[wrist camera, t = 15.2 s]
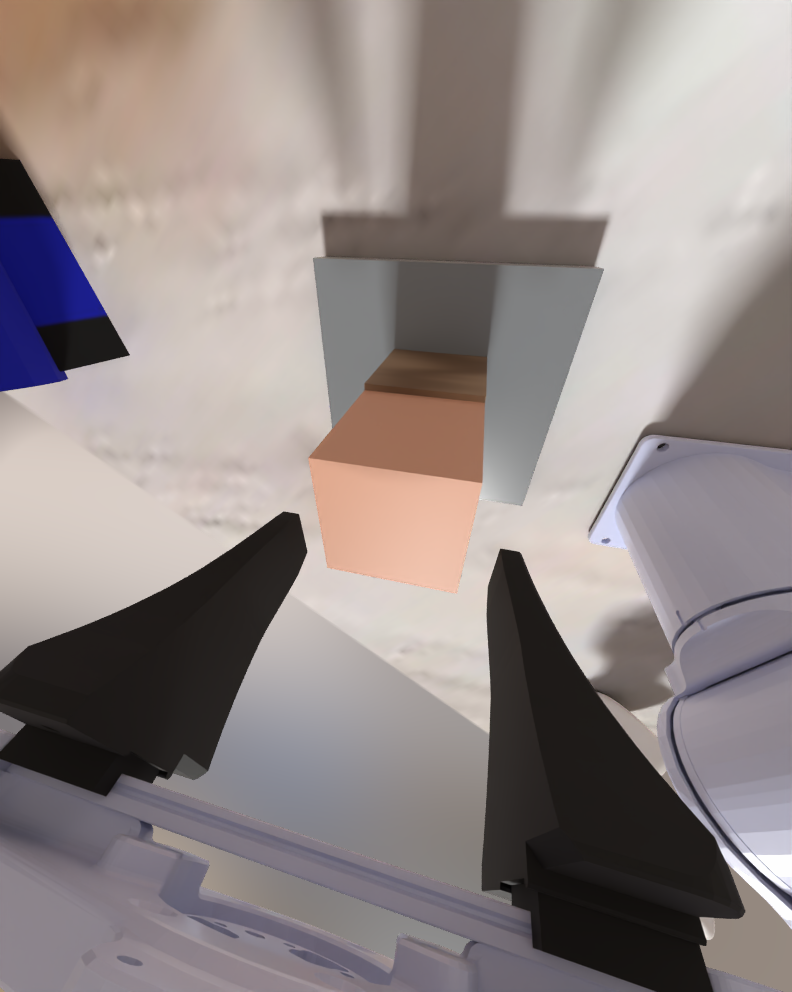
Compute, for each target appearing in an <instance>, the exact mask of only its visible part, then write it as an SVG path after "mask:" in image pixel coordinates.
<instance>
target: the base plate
mask: <svg viewBox="0 0 792 992" xmlns="http://www.w3.org/2000/svg"><path fill="white" fill-rule="evenodd" d="M313 262H314V271H315V280H316V288H317V297H318V306H319V315H320V324H321V332H322V341H323V350H324V359H325V368H326V376H327V385H328V394H329V403H330V412H331V420H332V429H333V428H334V426H335V425H336V424H337V423H338V422H339V420H340V419H341V418H342V417H343V416H344V414H345V413H346V412H347V411H348V409H349V408H350V407H351V406H352V405H353V403H354V402H355V401H356V400H357V399H358V397H359V396H360V395H361V394H362V393H363V391H364V390H365V388H364V383H365V382H366V381H367V380H368V379H369V378H370V376H371V375H372V374H373V373H374V372H375V371H376V369H377V368H378V367H379V366H380V365H381V364H382V363H383V361H384V360H385V359H386V358H387V357H388V356H389V354H390V353H391V352H392V351H393V350H394V349H401V350H412V351H424V352H435V353H447V354H458V355H470V356H482V357H487V387H486V400H485V416H484V449H483V482H482V487H481V492H480V496H479V499H480V500H486V501H493V502H499V503H506V504H513V505H519V506H522V505H523V502H524V499H525V496H526V493H527V490H528V488H529V485H530V482H531V479H532V476H533V473H534V470H535V467H536V464H537V461H538V459H539V456H540V453H541V450H542V447H543V444H544V441H545V438H546V435H547V433H548V430H549V427H550V424H551V421H552V418H553V415H554V412H555V409H556V407H557V404H558V401H559V398H560V395H561V392H562V389H563V386H564V383H565V381H566V378H567V375H568V372H569V369H570V366H571V363H572V360H573V357H574V354H575V352H576V349H577V346H578V343H579V340H580V337H581V334H582V331H583V328H584V326H585V323H586V320H587V317H588V314H589V311H590V308H591V305H592V302H593V300H594V297H595V294H596V291H597V288H598V285H599V282H600V279H601V276H602V274H603V271H604V269H603V268H599V267H595V266H571V265H544V264H516V263H489V262H462V261H434V260H407V259H380V258H352V257H317V258H313Z"/></svg>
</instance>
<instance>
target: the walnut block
mask: <svg viewBox="0 0 792 992" xmlns="http://www.w3.org/2000/svg"><path fill="white" fill-rule="evenodd" d="M486 387H487V357H482V356H470V355H458V354H447V353H435V352H424V351H412V350H401V349H394V350H393V351H392V352H391V353H390V354H389V356H388V357H387V358H386V359H385V360H384V361H383V363H382V364H381V365H380V366H379V367H378V368H377V369H376V371H375V372H374V373H373V374H372V375H371V376H370V378H369V379H368V380H367V381H366V382H365V383H364V388H365V390H368V391H378V392H387V393H397V394H406V395H416V396H425V397H434V398H444V399H453V400H463V401H472V402H482V403H485V400H486Z"/></svg>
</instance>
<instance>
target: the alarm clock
mask: <svg viewBox="0 0 792 992" xmlns="http://www.w3.org/2000/svg"><path fill="white" fill-rule="evenodd" d="M129 355H130V354H129V353H128V351H127V349H126V347H125V346H124V344H123V342H122V340H121V339H120V337H119V335H118V333H117V331H116V330H115V328H114V326H113V324H112V323H111V321H110V319H109V317H108V316H107V314H106V312H105V310H104V308H103V307H102V305H101V303H100V301H99V300H98V298H97V296H96V294H95V293H94V291H93V289H92V287H91V285H90V284H89V282H88V280H87V278H86V277H85V275H84V273H83V271H82V269H81V268H80V266H79V264H78V262H77V261H76V259H75V257H74V255H73V254H72V252H71V250H70V248H69V246H68V245H67V243H66V241H65V239H64V238H63V236H62V234H61V232H60V231H59V229H58V227H57V225H56V223H55V222H54V220H53V218H52V216H51V215H50V213H49V211H48V209H47V208H46V206H45V204H44V202H43V200H42V199H41V197H40V195H39V193H38V192H37V190H36V188H35V186H34V185H33V183H32V181H31V179H30V177H29V176H28V174H27V172H26V170H25V169H24V167H23V165H22V163H21V162H20V160H11V159H0V392H1V391H8V390H14V389H21V388H27V387H34V386H39V385H45V384H50V383H55V382H60V381H63V380H66V379H68V378H67V376H66V374H65V372H64V371H66V370H70V369H74V368H78V367H82V366H87V365H91V364H95V363H99V362H103V361H108V360H112V359H116V358H120V357H125V356H129Z"/></svg>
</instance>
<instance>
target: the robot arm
mask: <svg viewBox="0 0 792 992" xmlns="http://www.w3.org/2000/svg"><path fill="white" fill-rule="evenodd" d="M662 443H666V444H665V446H664V447H662V448H657V447H658V446H659V445H660V444H662ZM603 538H607V539H603ZM588 539H589V541H590V542H591V543H593V544H597V545H603V546H609V547H615V548H621V549H627V550H628V552H629V554H630V557H631V559H632V561H633V563H634V566H635V568H636V570H637V572H638V575H639V577H640V579H641V581H642V584H643V586H644V588H645V590H646V593H647V595H648V597H649V599H650V602H651V604H652V606H653V609H654V611H655V613H656V615H657V618H658V620H659V622H660V624H661V627H662V629H663V631H664V633H665V636H666V638H667V640H668V642H669V645H670V647H671V649H672V651H673V653H674V661H673V662H672V663H671V664H670V665H669V666H667V667H666V668H665V669H664V670H665V672H666V675H667V677H668V680H669V682H670V685H671V687H672V690H673V692H674V695H675V696H673V697H671V698H670V699H668V700H667V701H666V702H665V703H664V705H663V706H662V707H661V709H660V712H659V715H658V721H657V736H658V742H659V747H660V752H661V755H662V758H663V761H664V764H665V767H666V770H667V772H668V774H669V777H670V779H671V781H672V783H673V785H674V788H675V790H676V791H677V793H678V795H679V796H678V795H677V794H676V793H675V792H674V791H673V789H672V788H671V787H670V786H669V785H668V783H667V782H666V781H665V780H664V779H663V778H662V776H661V775H660V774H659V773H658V771H657V770H656V769H655V768H654V767H653V765H652V764H651V763H650V762H649V760H648V759H647V758H646V757H645V756H644V754H643V753H642V752H641V751H640V750H639V748H638V747H637V746H636V744H635V743H634V742H633V741H632V739H631V738H630V737H629V735H628V734H627V733H626V731H625V730H624V729H623V727H622V726H621V725H620V723H619V722H618V721H617V720H616V718H615V717H614V716H613V714H612V713H611V712H610V710H609V709H608V708H607V706H606V705H605V704H604V702H603V701H602V699H601V698H600V697H599V695H598V694H597V692H596V691H595V689H594V688H593V687H592V685H591V684H590V682H589V681H588V679H587V678H586V676H585V675H584V673H583V672H582V670H581V669H580V667H579V666H578V664H577V663H576V661H575V659H574V658H573V656H572V655H571V653H570V651H569V650H568V648H567V646H566V645H565V643H564V641H563V639H562V638H561V636H560V634H559V632H558V631H557V629H556V627H555V625H554V623H553V622H552V620H551V618H550V616H549V614H548V612H547V610H546V608H545V606H544V604H543V602H542V600H541V598H540V596H539V594H538V592H537V590H536V588H535V585H534V583H533V581H532V579H531V576H530V574H529V572H528V569H527V567H526V565H525V562H524V559H523V557H522V555H521V553H520V552H517V551H511V550H505V549H500V551H499V554H498V557H497V560H496V563H495V566H494V570H493V573H492V576H491V579H490V582H489V585H488V596H487V633H488V649H489V666H490V684H491V706H490V738H489V760H488V780H487V798H486V815H485V829H484V844H483V858H482V891H483V892H486V893H489V894H492V895H495V896H498V897H501V898H504V899H507V900H510V901H512V905H509V904H506V903H503V902H500V901H497V900H494V899H491V898H488V897H485V896H482V895H479V894H476V893H473V892H470V891H467V890H464V889H462V888H459V887H456V886H453V885H450V884H447V883H444V882H441V881H438V880H435V879H432V878H429V877H426V876H423V875H420V874H417V873H414V872H411V871H408V870H405V869H402V868H399V867H396V866H393V865H390V864H388V863H384V862H382V861H379V860H376V859H373V858H370V857H366V856H364V855H361V854H358V853H355V852H352V851H349V850H346V849H343V848H340V847H337V846H334V845H331V844H328V843H325V842H323V841H320V840H316V839H314V838H311V837H308V836H304V835H302V834H299V833H295V832H293V831H290V830H287V829H284V828H281V827H278V826H275V825H272V824H269V823H266V822H263V821H260V820H257V819H255V818H251V817H249V816H245V815H243V814H240V813H237V812H234V811H231V810H228V809H225V808H222V807H219V806H216V805H213V804H210V803H207V802H204V801H201V800H198V799H195V798H192V797H189V796H186V795H184V794H181V793H178V792H175V791H172V790H169V789H166V788H162V787H160V786H157V785H154V784H152V783H153V781H154V780H155V778H156V776H158V777H161V778H165V779H167V780H168V779H169V778H170V777H171V775H172V774H173V773H174V774H177V775H180V776H183V777H186V778H189V779H192V780H195V779H198V778H199V777H201V776H202V775H204V774H205V773H206V772H207V771H208V769H209V767H210V764H211V761H212V758H213V755H214V752H215V750H216V747H217V744H218V741H219V739H220V736H221V733H222V730H223V728H224V725H225V723H226V720H227V718H228V715H229V712H230V710H231V707H232V705H233V702H234V700H235V697H236V695H237V692H238V690H239V688H240V686H241V683H242V681H243V679H244V676H245V674H246V672H247V669H248V667H249V665H250V663H251V660H252V658H253V656H254V653H255V652H256V650H257V647H258V645H259V643H260V641H261V639H262V637H263V635H264V633H265V631H266V630H267V628H268V626H269V624H270V623H271V621H272V619H273V618H274V615H275V614H276V612H277V611H278V609H279V607H280V606H281V604H282V602H283V600H284V599H285V597H286V595H287V593H288V592H289V590H290V588H291V586H292V585H293V583H294V581H295V579H296V578H297V576H298V573H299V571H300V569H301V566H302V564H303V562H304V559H305V557H306V554H307V548H306V543H305V539H304V534H303V530H302V526H301V521H300V517H299V514H295V513H289V512H282V513H281V514H279V515H278V516H277V517H275V518H274V519H272V520H271V521H270V522H268V523H267V524H266V525H264V526H263V527H261V528H260V529H259V530H257V531H256V532H255V533H253V534H252V535H250V536H249V537H248V538H246V539H245V540H243V541H242V542H240V543H239V544H238V545H236V546H235V547H233V548H232V549H230V550H229V551H227V552H226V553H224V554H223V555H221V556H220V557H218V558H217V559H215V560H214V561H212V562H211V563H209V564H207V565H206V566H205V567H203V568H201V569H199V570H198V571H196V572H194V573H193V574H191V575H189V576H188V577H186V578H184V579H182V580H180V581H179V582H177V583H175V584H173V585H171V586H170V587H168V588H166V589H164V590H162V591H160V592H158V593H156V594H154V595H152V596H150V597H148V598H146V599H144V600H141V601H140V602H137V603H135V604H133V605H131V606H129V607H127V608H125V609H123V610H120V611H118V612H116V613H113V614H111V615H109V616H106V617H104V618H102V619H99V620H97V621H95V622H92V623H90V624H87V625H85V626H82V627H80V628H77V629H74V630H72V631H69V632H66V633H63V634H61V635H58V636H55V637H53V638H50V639H47V640H45V641H42V642H39V643H36V644H33V645H31V646H28V647H27V648H26V649H25V650H24V651H23V652H21V653H20V654H19V655H18V656H17V657H16V658H15V659H14V660H13V661H11V662H10V663H9V664H8V665H7V666H6V667H5V668H4V669H2V670H1V671H0V712H3V713H5V714H6V715H9V716H11V717H13V718H15V719H17V720H19V721H21V722H23V723H25V724H26V725H25V726H24V727H23V728H22V729H21V730H20V731H19V732H18V733H17V734H16V735H15V734H13V733H10V732H8V731H5V730H2V729H0V987H1V988H2V989H3V990H4V991H5V992H782V991H779V990H777V989H774V988H770V987H767V986H765V985H762V984H759V983H756V982H753V981H750V980H747V979H744V978H741V977H738V976H735V975H732V974H729V973H726V972H722V971H719V970H716V969H712V968H708V967H706V966H705V962H704V959H703V956H702V953H701V949H700V946H699V945H703V946H706V943H707V940H706V937H705V933H704V930H703V927H702V924H701V921H700V917H708V918H726V919H739V918H741V917H742V916H743V915H744V913H745V909H744V906H743V904H742V901H741V898H740V896H739V893H738V890H737V888H736V885H735V883H734V880H733V877H732V875H731V872H730V870H729V867H728V865H727V863H728V864H729V865H730V866H731V867H732V868H733V869H734V870H735V871H736V872H737V873H738V874H739V875H740V876H741V877H742V878H743V879H744V880H746V882H747V883H748V884H750V885H751V886H752V887H753V888H754V889H755V890H756V891H757V892H758V893H759V894H760V895H761V896H762V897H763V898H764V899H765V900H766V901H767V902H768V903H769V904H770V905H771V906H772V907H773V908H774V909H775V910H776V912H777V913H778V914H779V915H780V916H781V917H782V918H783V919H784V920H785V922H786V923H787V924H788V925H789V927H790V928H791V929H792V450H788V449H779V448H770V447H761V446H752V445H743V444H734V443H725V442H716V441H707V440H698V439H689V438H680V437H671V436H662V435H649V436H646V437H644V438H643V439H642V440H641V441H640V442H639V444H638V446H637V447H636V449H635V451H634V453H633V455H632V456H631V458H630V460H629V462H628V464H627V466H626V467H625V469H624V471H623V473H622V475H621V476H620V478H619V480H618V482H617V484H616V485H615V487H614V489H613V491H612V493H611V494H610V496H609V498H608V500H607V502H606V503H605V505H604V507H603V509H602V511H601V512H600V514H599V516H598V518H597V520H596V521H595V523H594V525H593V527H592V529H591V530H590V532H589V534H588ZM151 824H152V825H155V826H157V827H160V828H163V829H166V830H168V831H171V832H174V833H177V834H179V835H182V836H185V837H188V838H190V839H193V840H196V841H199V842H202V843H204V844H207V845H210V846H213V847H215V848H218V849H221V850H224V851H227V852H229V853H232V854H235V855H237V856H240V857H243V858H246V859H249V860H251V861H254V862H257V863H260V864H263V865H265V866H268V867H271V868H273V869H276V870H279V871H282V872H285V873H287V874H290V875H293V876H296V877H298V878H301V879H304V880H307V881H309V882H312V883H315V884H318V885H321V886H323V887H326V888H329V889H332V890H334V891H337V892H340V893H343V894H345V895H348V896H351V897H354V898H357V899H359V900H362V901H365V902H368V903H370V904H373V905H376V906H379V907H382V908H384V909H387V910H390V911H393V912H396V913H398V914H401V915H404V916H406V917H409V918H412V919H415V920H417V921H420V922H423V923H426V924H429V925H432V926H434V927H437V928H440V929H443V930H445V931H448V932H451V933H454V934H456V935H459V936H462V937H465V938H467V939H470V940H473V941H470V942H469V943H467V944H466V946H465V948H464V951H463V952H462V953H461V954H458V953H456V952H454V951H452V950H450V949H448V948H445V947H442V946H440V945H437V944H434V943H431V942H428V941H425V940H422V939H419V938H416V937H413V936H410V935H407V934H404V933H400V934H399V935H398V936H397V944H396V951H395V959H394V960H393V959H391V958H388V957H386V956H384V955H381V954H379V953H377V952H374V951H372V950H370V949H367V948H365V947H362V946H360V945H358V944H356V943H353V942H351V941H348V940H346V939H344V938H341V937H339V936H337V935H334V934H332V933H329V932H327V931H324V930H321V929H319V928H317V927H314V926H311V925H309V924H306V923H304V922H301V921H298V920H296V919H293V918H290V917H288V916H285V915H282V914H279V913H277V912H273V911H271V910H268V909H265V908H262V907H260V906H257V905H254V904H251V903H248V902H245V901H242V900H239V899H236V898H233V897H230V896H227V895H225V894H222V893H219V892H216V891H213V890H210V889H207V888H204V887H201V883H202V881H203V879H204V877H205V874H206V872H207V870H208V868H209V861H208V860H205V859H203V858H201V857H198V856H196V855H194V854H191V853H189V852H186V851H183V850H180V849H177V848H174V847H171V846H168V845H164V844H161V843H157V842H154V841H153V839H152V835H153V827H152V825H151ZM726 862H727V863H726Z"/></svg>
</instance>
